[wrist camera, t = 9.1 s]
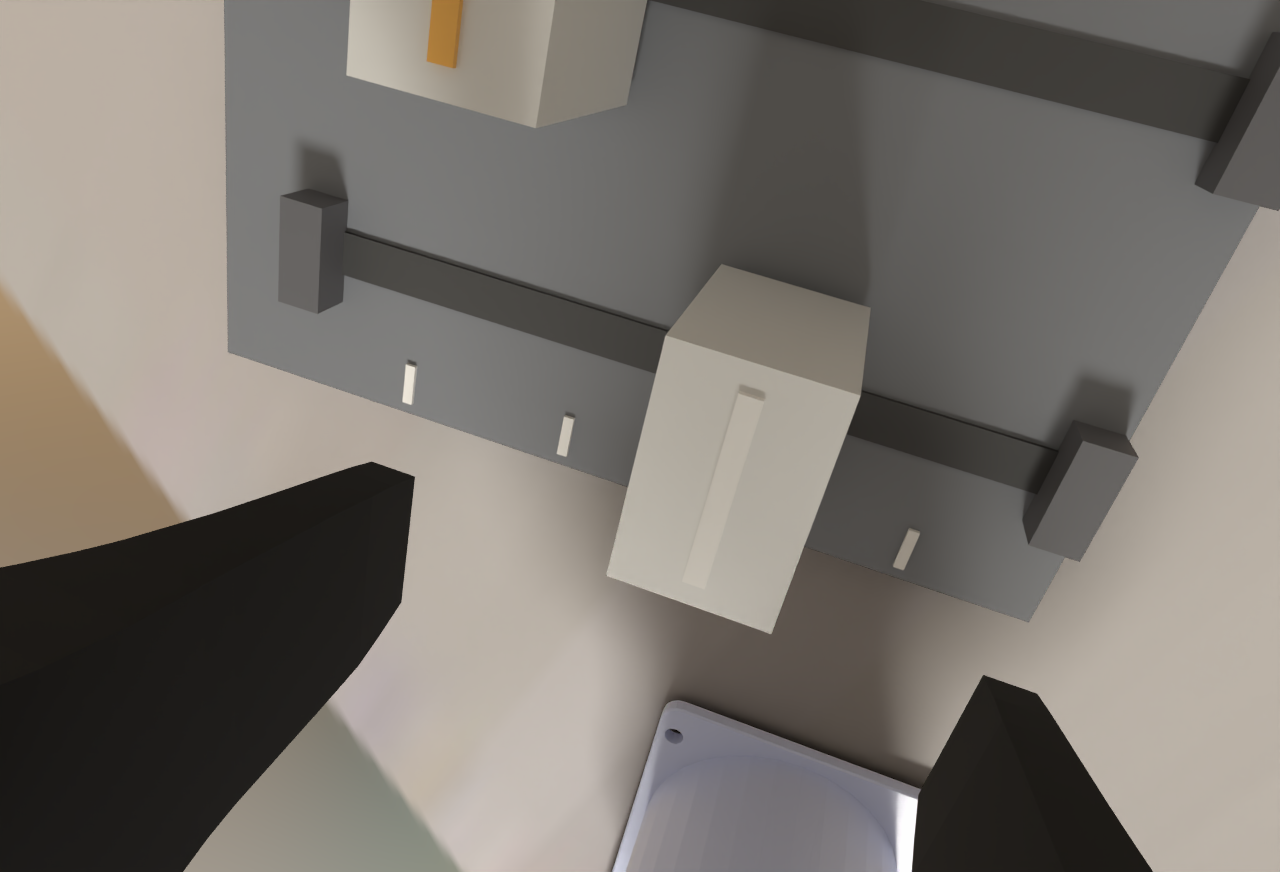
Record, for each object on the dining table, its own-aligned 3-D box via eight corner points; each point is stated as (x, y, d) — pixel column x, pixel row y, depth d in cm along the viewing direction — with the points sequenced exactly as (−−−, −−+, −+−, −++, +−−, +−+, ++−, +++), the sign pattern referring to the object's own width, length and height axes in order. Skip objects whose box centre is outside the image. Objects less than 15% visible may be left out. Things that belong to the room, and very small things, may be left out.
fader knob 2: (799, 505, 19) (770, 638, 15) (668, 461, 19) (603, 579, 15) (870, 307, 17) (860, 398, 12) (721, 264, 17) (663, 337, 13)
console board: (1021, 591, 20) (1034, 651, 18) (259, 337, 23) (199, 365, 21) (1399, -111, 13) (1483, -136, 11) (264, -344, 16) (178, -395, 14)
